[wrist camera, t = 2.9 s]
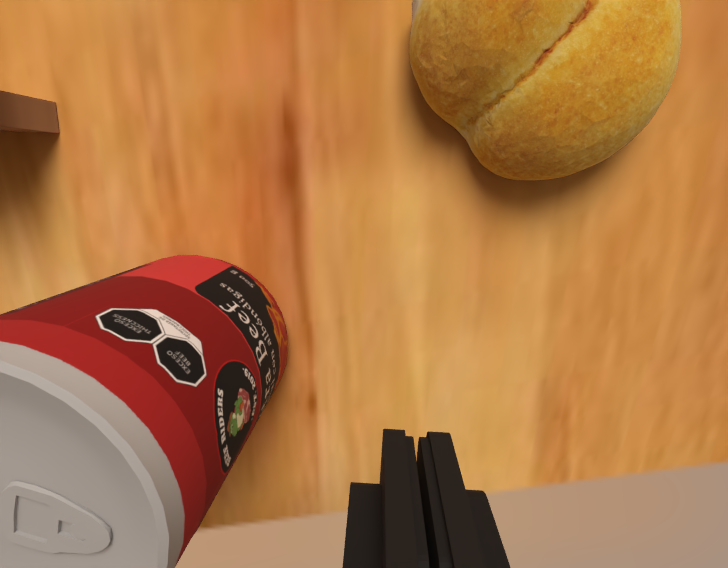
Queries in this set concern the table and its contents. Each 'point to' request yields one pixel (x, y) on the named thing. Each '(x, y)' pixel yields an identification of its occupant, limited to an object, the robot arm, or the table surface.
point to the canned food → (129, 410)
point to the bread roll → (545, 76)
